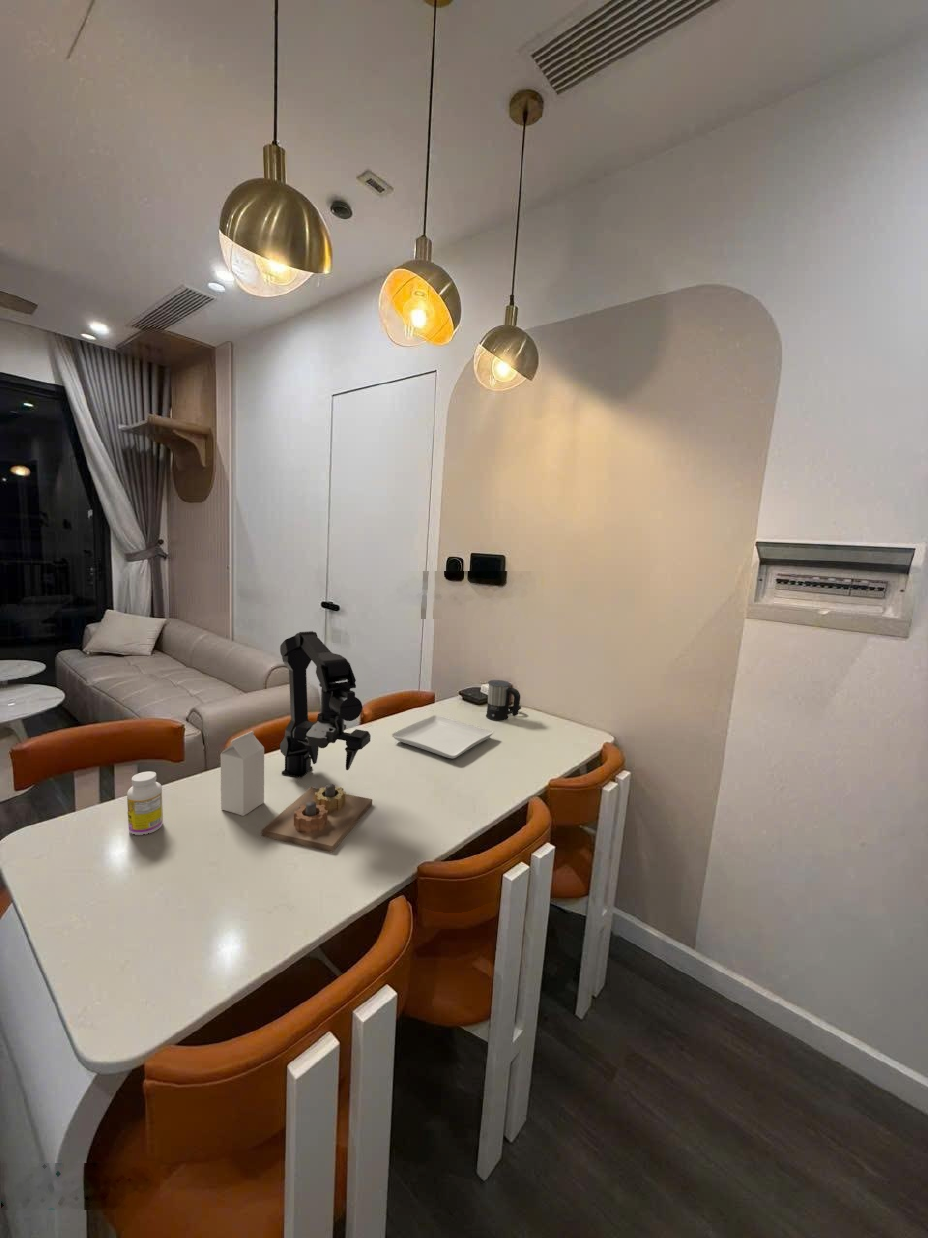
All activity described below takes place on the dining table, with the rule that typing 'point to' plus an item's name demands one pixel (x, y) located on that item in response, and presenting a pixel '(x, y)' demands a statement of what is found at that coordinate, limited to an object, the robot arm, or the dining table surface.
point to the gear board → (328, 832)
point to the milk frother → (501, 700)
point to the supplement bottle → (144, 804)
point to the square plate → (442, 736)
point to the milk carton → (242, 775)
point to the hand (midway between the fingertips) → (331, 766)
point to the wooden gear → (331, 799)
